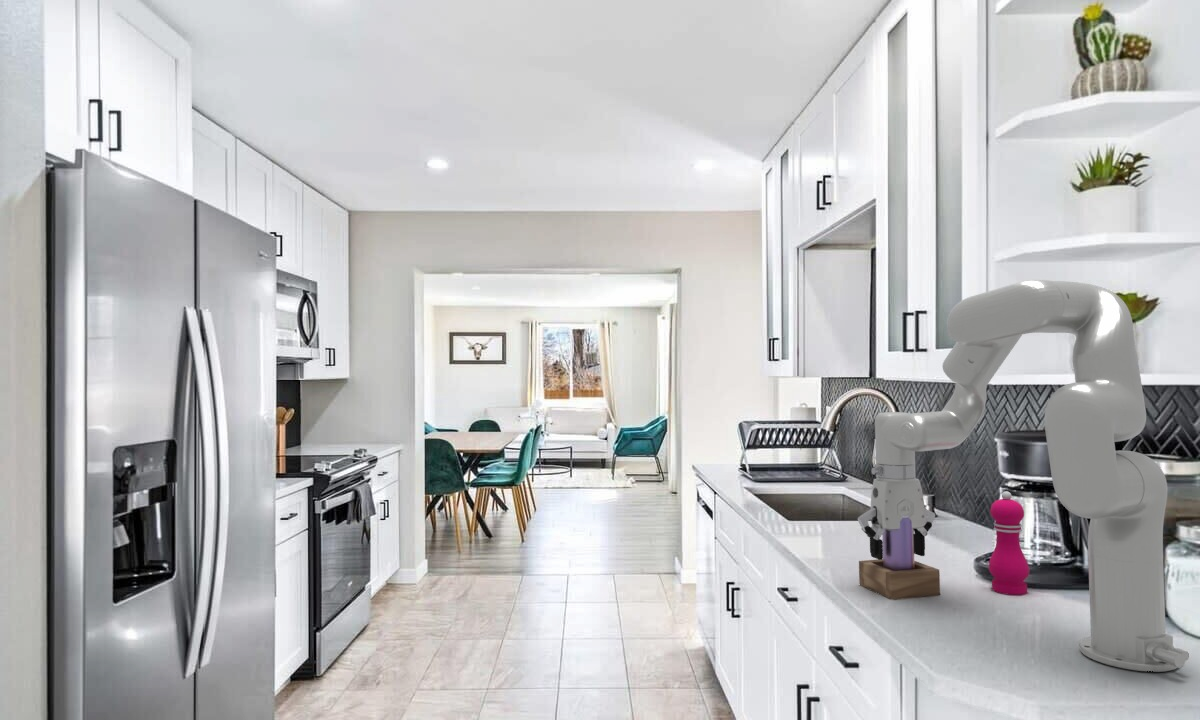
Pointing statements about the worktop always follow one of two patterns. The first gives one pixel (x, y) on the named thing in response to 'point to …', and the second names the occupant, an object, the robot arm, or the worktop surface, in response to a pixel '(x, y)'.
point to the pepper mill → (1008, 548)
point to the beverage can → (899, 547)
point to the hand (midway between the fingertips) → (897, 556)
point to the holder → (899, 580)
